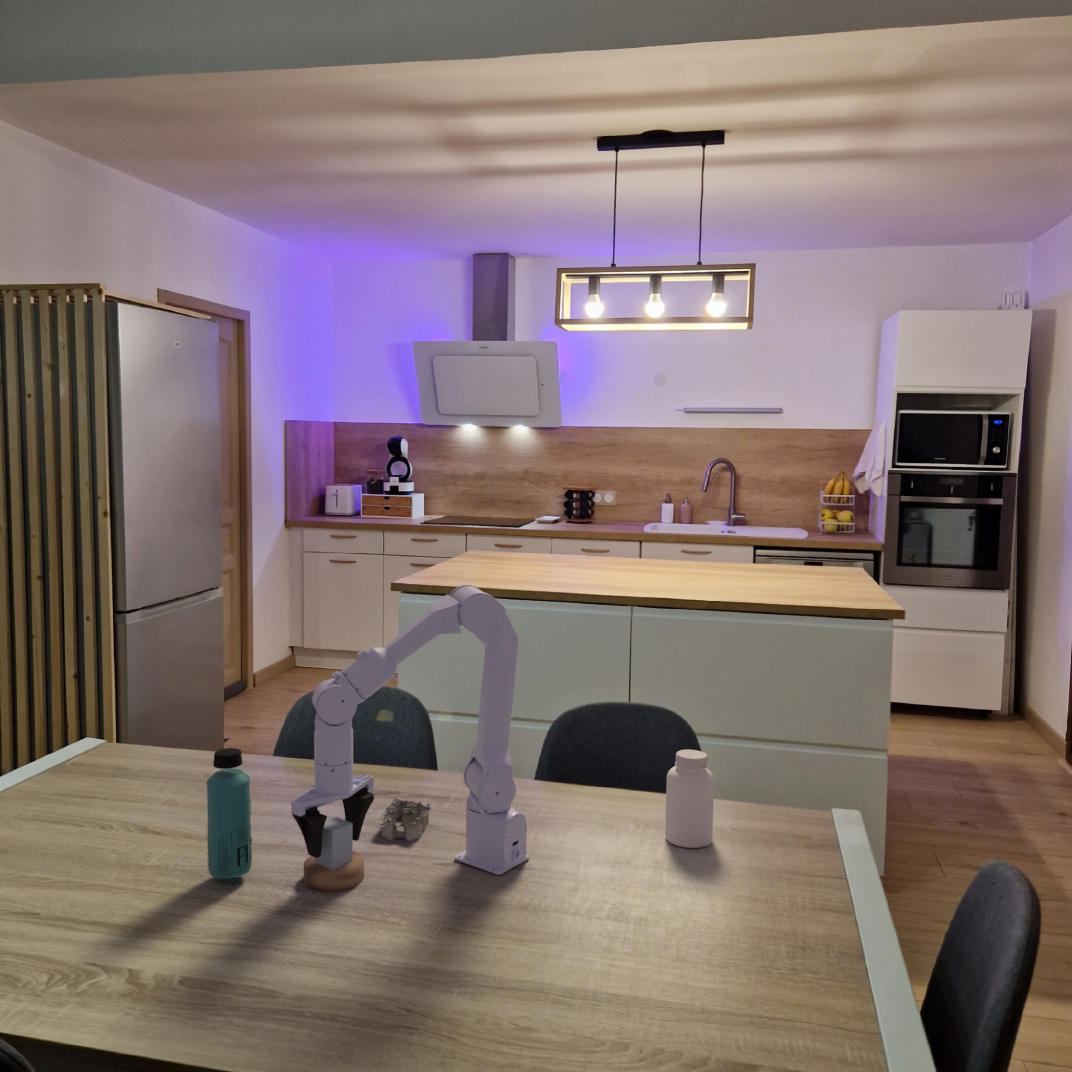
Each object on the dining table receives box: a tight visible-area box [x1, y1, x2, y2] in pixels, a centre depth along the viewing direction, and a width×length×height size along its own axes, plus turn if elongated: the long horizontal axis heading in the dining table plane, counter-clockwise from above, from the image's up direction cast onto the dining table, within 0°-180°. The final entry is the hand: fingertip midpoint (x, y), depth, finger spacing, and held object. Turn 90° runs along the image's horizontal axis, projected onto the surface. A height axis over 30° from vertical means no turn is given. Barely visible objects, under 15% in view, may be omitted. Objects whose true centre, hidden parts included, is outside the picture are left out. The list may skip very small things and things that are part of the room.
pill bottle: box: [664, 749, 715, 849], centre depth 158 cm, size 8×8×15 cm
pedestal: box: [303, 850, 365, 893], centre depth 142 cm, size 9×9×2 cm
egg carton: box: [378, 797, 432, 842], centre depth 161 cm, size 11×8×4 cm
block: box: [315, 816, 354, 870], centre depth 141 cm, size 4×4×6 cm
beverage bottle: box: [206, 747, 253, 880], centre depth 140 cm, size 6×7×20 cm
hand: (333, 846), depth 141 cm, fingers open, 7 cm apart
